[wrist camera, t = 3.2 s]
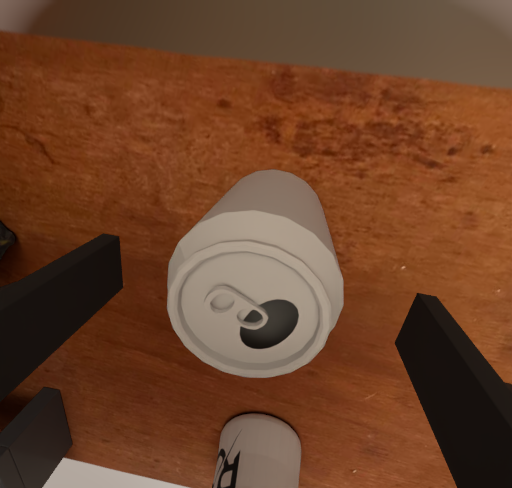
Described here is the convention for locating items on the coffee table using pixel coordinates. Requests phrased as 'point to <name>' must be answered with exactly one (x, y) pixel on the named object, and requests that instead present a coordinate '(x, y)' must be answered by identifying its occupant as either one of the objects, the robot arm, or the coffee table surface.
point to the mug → (258, 454)
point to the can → (257, 279)
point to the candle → (5, 239)
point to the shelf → (34, 442)
